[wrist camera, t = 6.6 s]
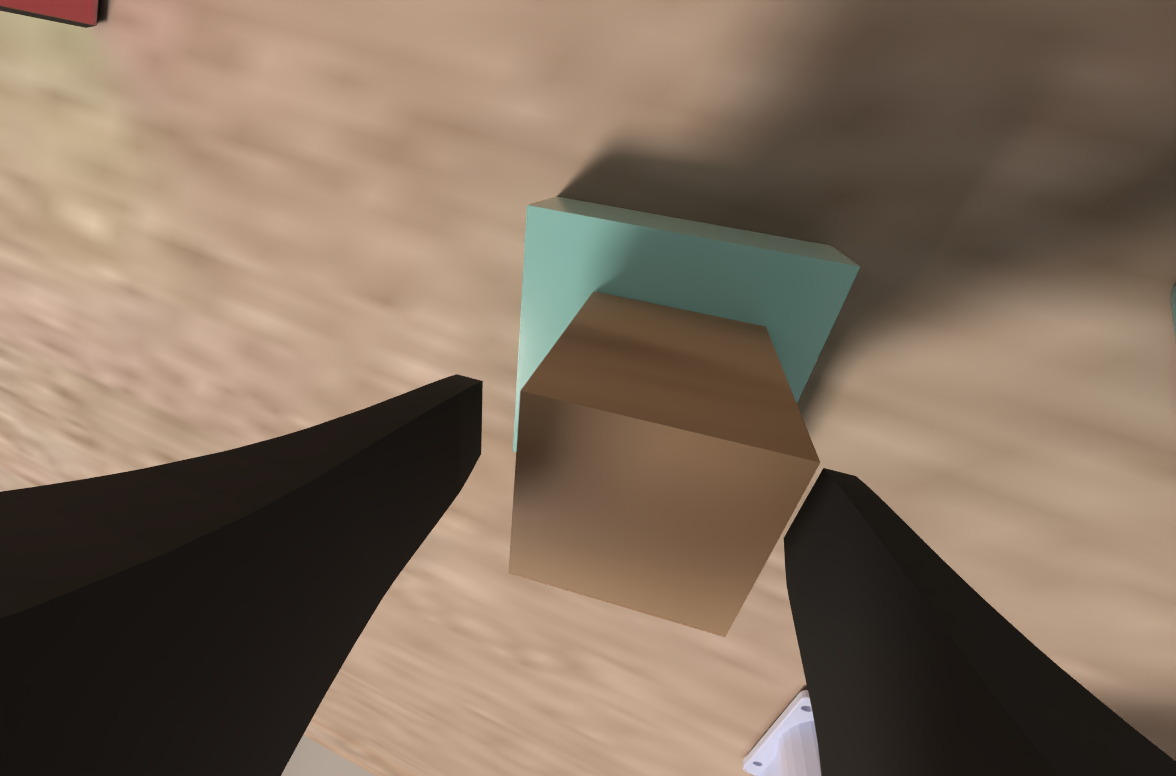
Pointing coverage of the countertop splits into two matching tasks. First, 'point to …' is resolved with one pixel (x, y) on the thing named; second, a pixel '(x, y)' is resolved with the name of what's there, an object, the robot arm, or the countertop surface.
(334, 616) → the robot arm
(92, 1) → the puzzle cube
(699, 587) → the walnut block
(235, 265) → the countertop surface
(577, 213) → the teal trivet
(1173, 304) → the flower pot
